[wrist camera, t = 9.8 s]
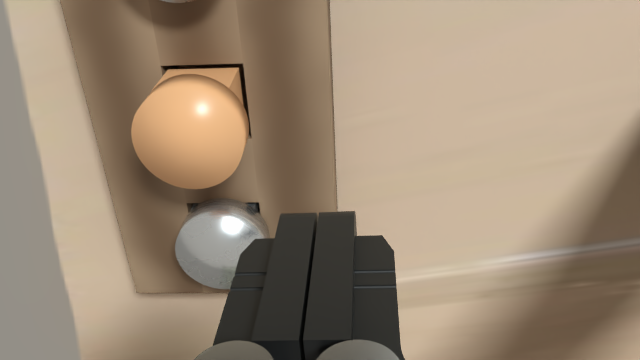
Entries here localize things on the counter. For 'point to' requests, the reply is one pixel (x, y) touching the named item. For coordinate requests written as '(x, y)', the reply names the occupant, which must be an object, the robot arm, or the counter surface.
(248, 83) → the knob mount
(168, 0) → the knob
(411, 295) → the counter surface
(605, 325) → the counter surface
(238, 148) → the knob mid
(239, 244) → the knob
